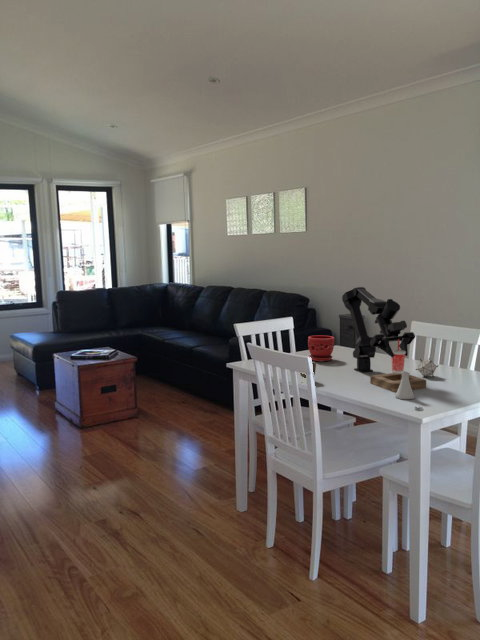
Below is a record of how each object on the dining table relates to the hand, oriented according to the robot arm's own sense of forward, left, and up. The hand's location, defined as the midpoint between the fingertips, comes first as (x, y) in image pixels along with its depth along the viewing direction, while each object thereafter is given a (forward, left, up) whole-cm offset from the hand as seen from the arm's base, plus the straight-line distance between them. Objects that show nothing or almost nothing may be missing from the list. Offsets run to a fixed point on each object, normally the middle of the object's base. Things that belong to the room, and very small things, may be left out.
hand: (399, 356), depth 239 cm
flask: (+15, -9, -13) cm, 22 cm away
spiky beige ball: (-8, +21, -13) cm, 26 cm away
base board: (-1, 0, -13) cm, 13 cm away
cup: (-24, -30, -13) cm, 41 cm away
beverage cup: (-1, 0, -7) cm, 7 cm away
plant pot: (-60, -2, -13) cm, 62 cm away
